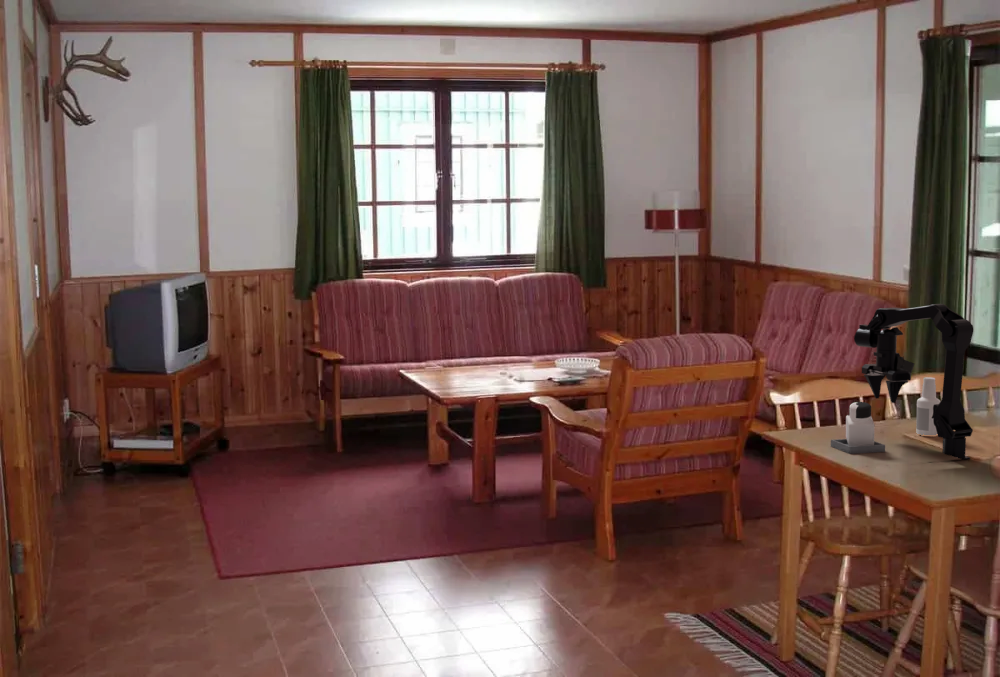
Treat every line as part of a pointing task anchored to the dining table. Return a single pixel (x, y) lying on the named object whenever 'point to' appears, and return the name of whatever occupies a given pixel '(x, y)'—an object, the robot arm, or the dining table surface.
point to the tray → (857, 447)
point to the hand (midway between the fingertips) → (885, 400)
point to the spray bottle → (926, 408)
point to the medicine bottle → (860, 425)
